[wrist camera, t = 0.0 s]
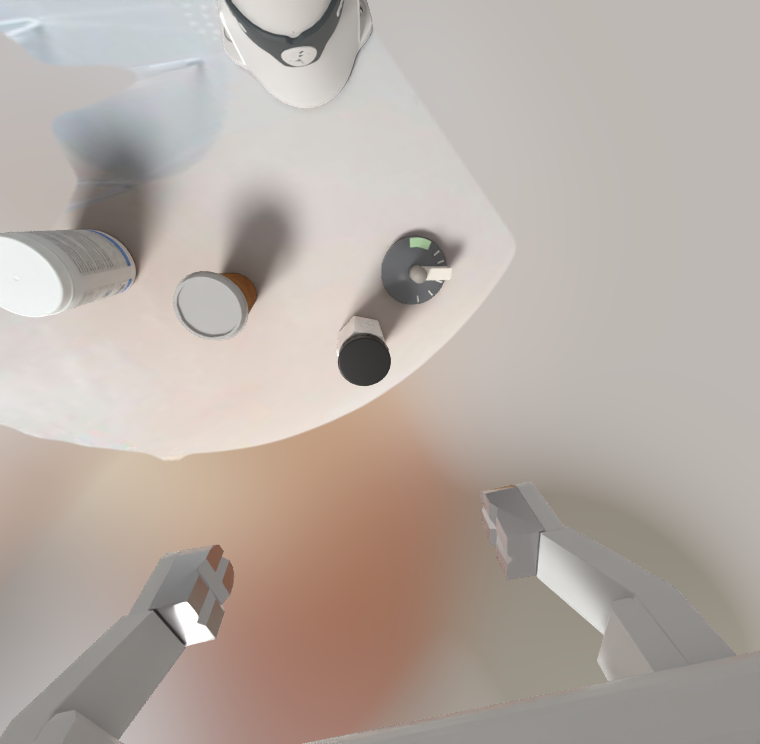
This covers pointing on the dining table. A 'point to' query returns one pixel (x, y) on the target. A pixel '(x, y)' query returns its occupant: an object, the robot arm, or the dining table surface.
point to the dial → (402, 259)
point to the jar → (362, 352)
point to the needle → (429, 273)
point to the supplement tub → (61, 270)
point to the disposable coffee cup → (214, 304)
